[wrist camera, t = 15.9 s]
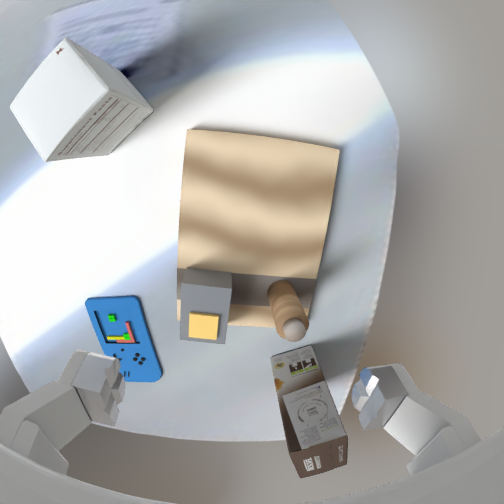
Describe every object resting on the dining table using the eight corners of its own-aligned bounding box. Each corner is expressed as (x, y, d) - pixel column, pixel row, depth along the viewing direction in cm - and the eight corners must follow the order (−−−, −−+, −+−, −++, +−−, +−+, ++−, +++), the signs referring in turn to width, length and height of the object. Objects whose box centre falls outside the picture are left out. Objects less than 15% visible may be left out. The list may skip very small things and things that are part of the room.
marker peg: (269, 279, 32) (281, 318, 24) (296, 281, 32) (315, 319, 25) (265, 303, 33) (275, 346, 25) (291, 305, 33) (308, 346, 26)
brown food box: (267, 356, 37) (286, 453, 22) (311, 343, 37) (348, 434, 22) (281, 394, 41) (299, 479, 25) (319, 383, 40) (349, 465, 25)
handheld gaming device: (116, 382, 37) (82, 301, 32) (118, 377, 38) (85, 297, 33) (164, 383, 37) (136, 298, 32) (165, 378, 38) (138, 294, 33)
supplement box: (75, 115, 25) (6, 105, 13) (121, 69, 23) (66, 33, 12) (108, 157, 27) (42, 165, 15) (156, 111, 26) (110, 87, 14)
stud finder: (186, 267, 31) (180, 284, 26) (231, 272, 31) (231, 290, 27) (184, 319, 33) (179, 341, 29) (225, 324, 34) (224, 346, 29)
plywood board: (188, 130, 27) (186, 129, 26) (335, 149, 29) (339, 149, 27) (178, 315, 34) (177, 320, 33) (302, 323, 36) (304, 328, 35)
